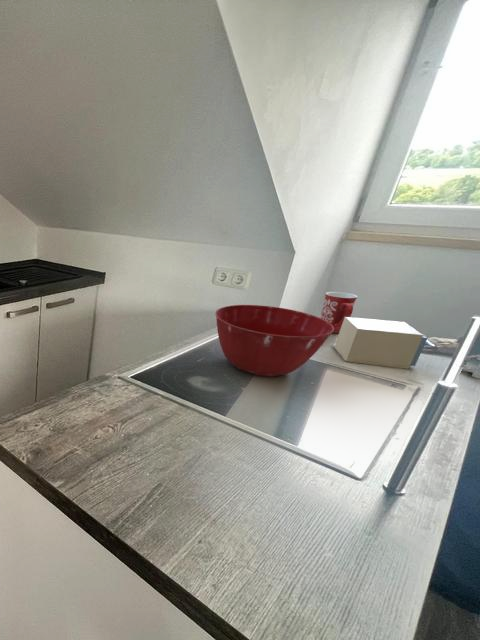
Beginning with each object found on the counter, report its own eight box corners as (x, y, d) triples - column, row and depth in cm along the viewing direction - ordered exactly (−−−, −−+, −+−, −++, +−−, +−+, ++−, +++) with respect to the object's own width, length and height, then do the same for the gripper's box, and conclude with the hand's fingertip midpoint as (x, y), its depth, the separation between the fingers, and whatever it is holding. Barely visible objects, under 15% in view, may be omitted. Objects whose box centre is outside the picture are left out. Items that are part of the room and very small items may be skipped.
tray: (417, 354, 120) (429, 327, 117) (436, 368, 111) (450, 340, 108) (344, 346, 128) (354, 320, 124) (356, 359, 118) (366, 332, 115)
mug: (310, 325, 150) (321, 291, 144) (338, 327, 147) (350, 292, 142) (324, 336, 139) (336, 299, 133) (354, 338, 136) (368, 301, 131)
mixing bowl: (341, 378, 109) (360, 326, 103) (267, 397, 100) (283, 341, 94) (250, 344, 133) (262, 300, 127) (185, 357, 125) (193, 311, 118)
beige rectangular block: (390, 353, 124) (404, 321, 119) (408, 368, 113) (423, 335, 109) (334, 347, 130) (344, 316, 125) (345, 361, 119) (357, 328, 115)
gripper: (554, 337, 97) (476, 323, 109) (503, 409, 101) (433, 388, 113) (560, 343, 100) (482, 329, 112) (510, 413, 104) (441, 392, 116)
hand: (457, 359), depth 113 cm, fingers closed
